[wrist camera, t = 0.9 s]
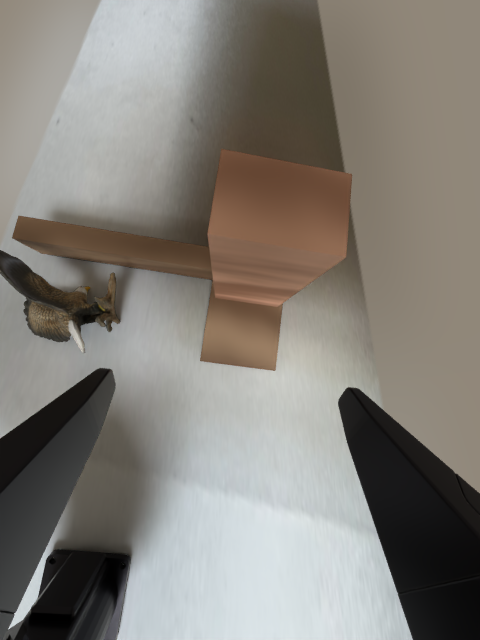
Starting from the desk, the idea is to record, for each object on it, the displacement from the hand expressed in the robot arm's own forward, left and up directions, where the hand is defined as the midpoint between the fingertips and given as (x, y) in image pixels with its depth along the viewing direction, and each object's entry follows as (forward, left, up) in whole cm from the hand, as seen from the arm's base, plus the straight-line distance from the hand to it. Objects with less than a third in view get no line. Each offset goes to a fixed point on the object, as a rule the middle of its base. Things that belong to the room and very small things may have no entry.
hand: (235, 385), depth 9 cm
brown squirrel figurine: (+3, +15, -14) cm, 20 cm away
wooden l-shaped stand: (+5, +7, -13) cm, 16 cm away
